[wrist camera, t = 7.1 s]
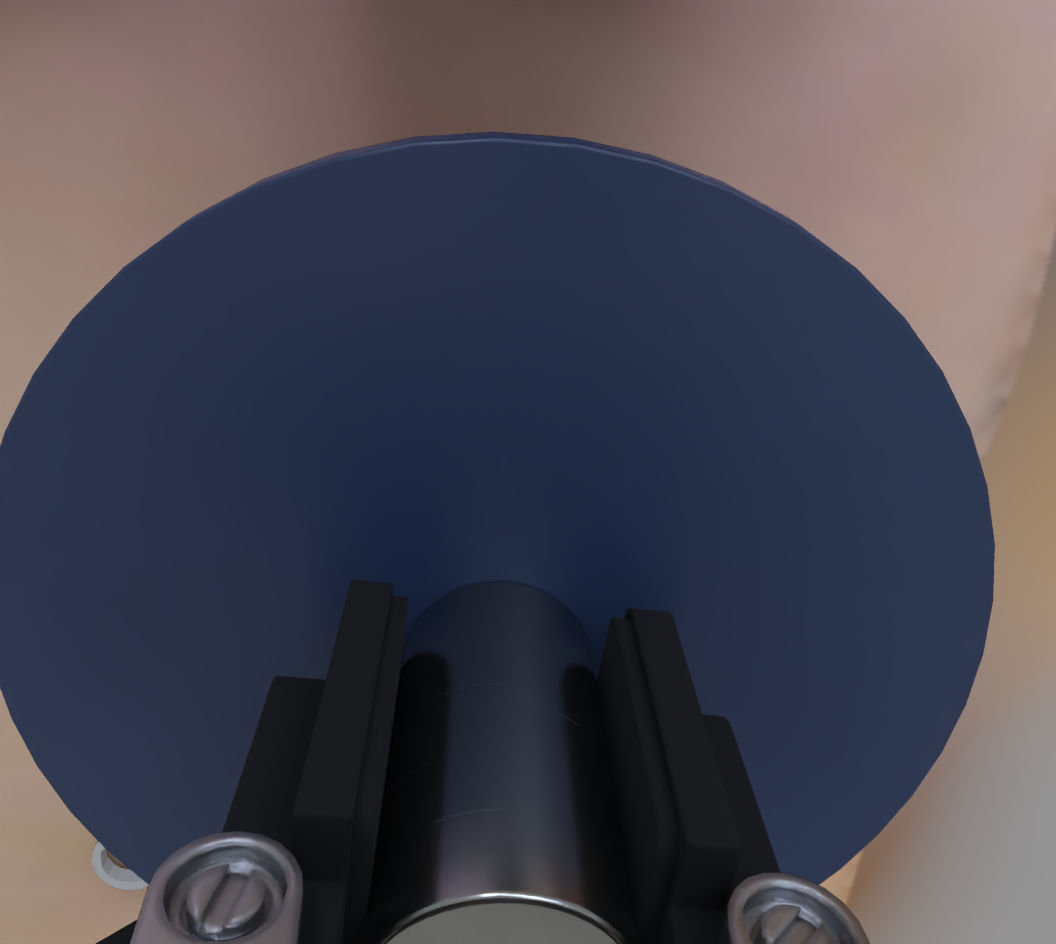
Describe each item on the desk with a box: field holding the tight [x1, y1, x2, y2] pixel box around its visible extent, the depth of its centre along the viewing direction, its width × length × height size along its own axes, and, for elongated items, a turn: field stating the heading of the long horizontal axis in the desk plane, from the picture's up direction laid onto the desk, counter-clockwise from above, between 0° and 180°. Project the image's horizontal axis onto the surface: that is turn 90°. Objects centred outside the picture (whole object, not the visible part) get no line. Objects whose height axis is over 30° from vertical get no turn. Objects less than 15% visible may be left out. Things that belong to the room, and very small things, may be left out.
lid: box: [0, 132, 995, 944], centre depth 11 cm, size 14×14×6 cm
